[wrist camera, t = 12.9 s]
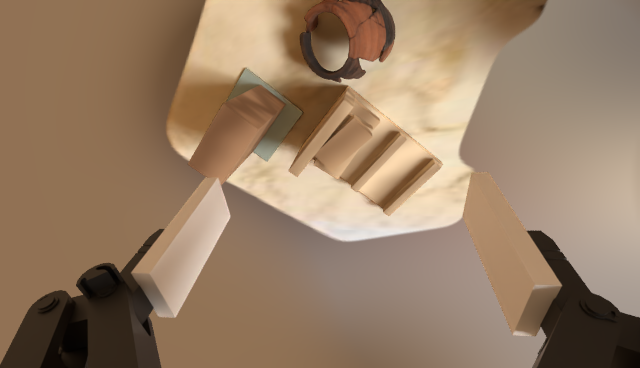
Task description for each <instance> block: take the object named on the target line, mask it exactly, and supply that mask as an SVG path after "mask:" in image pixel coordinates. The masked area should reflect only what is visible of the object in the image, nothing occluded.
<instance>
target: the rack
mask: <svg viewBox="0 0 640 368" xmlns="http://www.w3.org/2000/svg"><path fill="white" fill-rule="evenodd" d="M311 159H314V160H315V162H314V165H315V166H316V167H318V168H320V169H321V170H323V171H325V172H326V173H328V174H329V175H331V176H333V177H334V178H336V179H339V177H341V178H343V179H344V180H345V181H347V182H348V183H349V184H351V188H352V189H353V190H354V191H356V192H358V191H360V192H361V193H363V194H364V195H365V196H367V197H368V198H369V199H371V200H372V201H373V202H375V203H376V204H377V205H379V206H380V207H381V208H383V212H384V213H385V214H386V215H388V216H390V215H391V214H392V213H393V212H394V211H395V210H396V209H397V208H398V207H400V206H401V205H402V204H403V203H404V202H405V201H406V200H407V199H408V198H409V197H410V196H411V195H412V194H413V193H415V192H416V191H417V190H418V189H419V188H420V187H421V186H422V185H423V184H424V183H425V182H426V181H427V180H428V179H430V178H431V177H432V176H433V175H434V174H435V173H436V172H437V171H438V170H439V169H440V168H441V166H442V165H443V164H442V162H441V161H440V160H439V159H437V158H436V157H435V156H434V155H432V154H431V153H430V152H429V151H428V150H426V149H425V148H424V147H423V146H421V145H420V144H419V143H418V142H417V141H415V140H414V139H413V138H412V137H410V136H409V135H408V134H407V133H406V132H404V131H403V130H402V129H401V128H399V127H398V126H397V125H396V124H395V123H393V122H392V121H391V120H390V119H388V118H387V117H386V116H385V115H384V114H382V113H381V112H380V111H379V110H377V109H376V108H375V107H374V106H373V105H371V104H370V103H369V102H368V101H366V100H365V99H364V98H363V97H362V96H360V95H359V94H358V93H357V92H356V91H354V90H353V89H352V88H351V87H349V86H348V87H347V88H346V89H345V90H344V92H343V93H342V94H341V96H340V97H339V98H338V100H337V101H336V102H335V103H334V105H333V106H332V107H331V109H330V110H329V111H328V113H327V114H326V115H325V116H324V118H323V119H322V120H321V122H320V123H319V124H318V125H317V127H316V128H315V129H314V131H313V132H312V133H311V135H310V136H309V137H308V138H307V140H306V141H305V142H304V144H303V145H302V147H301V149H300V151H299V152H298V154H297V156H296V158H295V160H294V162H293V163H292V165H291V167H290V169H289V172H291V173H292V174H293V175H295V176H296V177H298V175H299V174H300V173H301V172H302V170H303V169H304V168H305V167H306V166H307V164H308V163H309V162H310V161H311Z"/></svg>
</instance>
